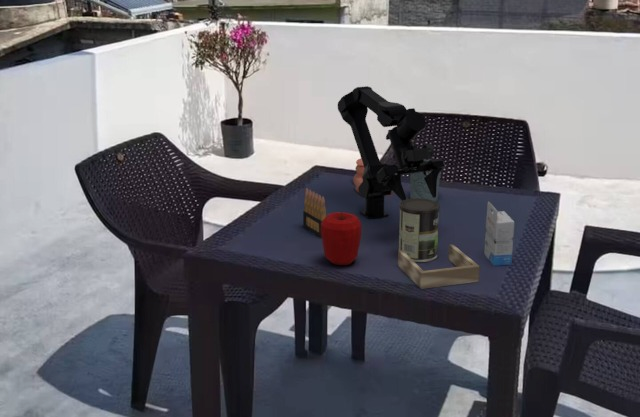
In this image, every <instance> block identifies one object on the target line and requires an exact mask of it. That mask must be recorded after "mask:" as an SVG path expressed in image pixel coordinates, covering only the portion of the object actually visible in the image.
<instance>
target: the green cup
mask: <svg viewBox="0 0 640 417" xmlns="http://www.w3.org/2000/svg"><path fill="white" fill-rule="evenodd" d="M429 160H431V159H430V158H429ZM429 160H426V159H424V162H423V163H421V164H420V165H425V164H426V163H427V162H428V161H429ZM409 175H410V176H409V178H410V180H409V181H410V182H409V184H410V187H409V188H410V189H409V190H410V192H409V194H410V195H409V196H410V197H409V199H414V198H422V199H429V200H433V201H436V202H438V199H439V198H438V196H439V187H440V181H441V180H440V179H441V175H442V171H441V172H440V173H439V174H438V177H437V188H436V197H435V198H433V197H432V195H431V193H430V191H429V188H428V186H427V184H426V181H425V179H424V178H425V177H426V176H425V175H424V174H423V172H421V173H414V174H409Z"/></svg>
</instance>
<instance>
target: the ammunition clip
mask: <svg viewBox="0 0 640 417" xmlns="http://www.w3.org/2000/svg"><path fill="white" fill-rule="evenodd" d="M303 205H304V207H303V208H304V210H303V213H302V214H303V215H302V216H303V219H302V220H303V221H302V222H303V223H302V228H303V227H304V229H305V230H306V231H308V230H309V231H308V232H310V231H311V232H310V233H312V234H313V233H314V235H315V236H316V237H318V238H320V239H322V236H321V222H322V221H323V220H324V219H325V217H326V216H327V210H326V201H325V197H324V195H322V196H321V194H318V192H316V193H315V191H314V190H313V191H312V190H311V189H308V188H307V187H306V188H305V193H304V202H303Z"/></svg>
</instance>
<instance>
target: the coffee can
mask: <svg viewBox="0 0 640 417" xmlns="http://www.w3.org/2000/svg"><path fill="white" fill-rule="evenodd" d="M398 205H399V227H398V230H399V232H398V234H399V235H398V236H399V237H398V251H400V250H402V251H403V252H404V253H405V254H406V255H407V256H408V257H410V258H411V259H412V260H413V261H414V262H415V263H425V262H432V261H434V260H436V259H437V258H438V244H439V242H438V241H439V220H440V219H439V218H440V208H441V205H440V203H439V202H438V201H433V200H429V199H422V198H414V199H410V198H408V199H407V198H406V200H403V201H402V200H401V201H400V202H399V203H398Z"/></svg>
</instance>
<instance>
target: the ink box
mask: <svg viewBox="0 0 640 417" xmlns="http://www.w3.org/2000/svg"><path fill="white" fill-rule="evenodd" d="M514 233H515V221H514V220H513V218H512V217H511V216H509V214H507V212H506V211H505V210H502V211H501V210H500V211H498V210H497V209H496V208H495V206H494V205H493V203H491V202H490V201H489V200H488V201H487V208H486V220H485V234H484V235H485V236H484V253H483V255H484V256H485V257H486V258H487V259H488V260H489V262H490V263H491V265H492V266H495V267H497V266H512V261H513V260H512V259H513V249H514V248H513V247H514V246H513V245H514Z"/></svg>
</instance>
